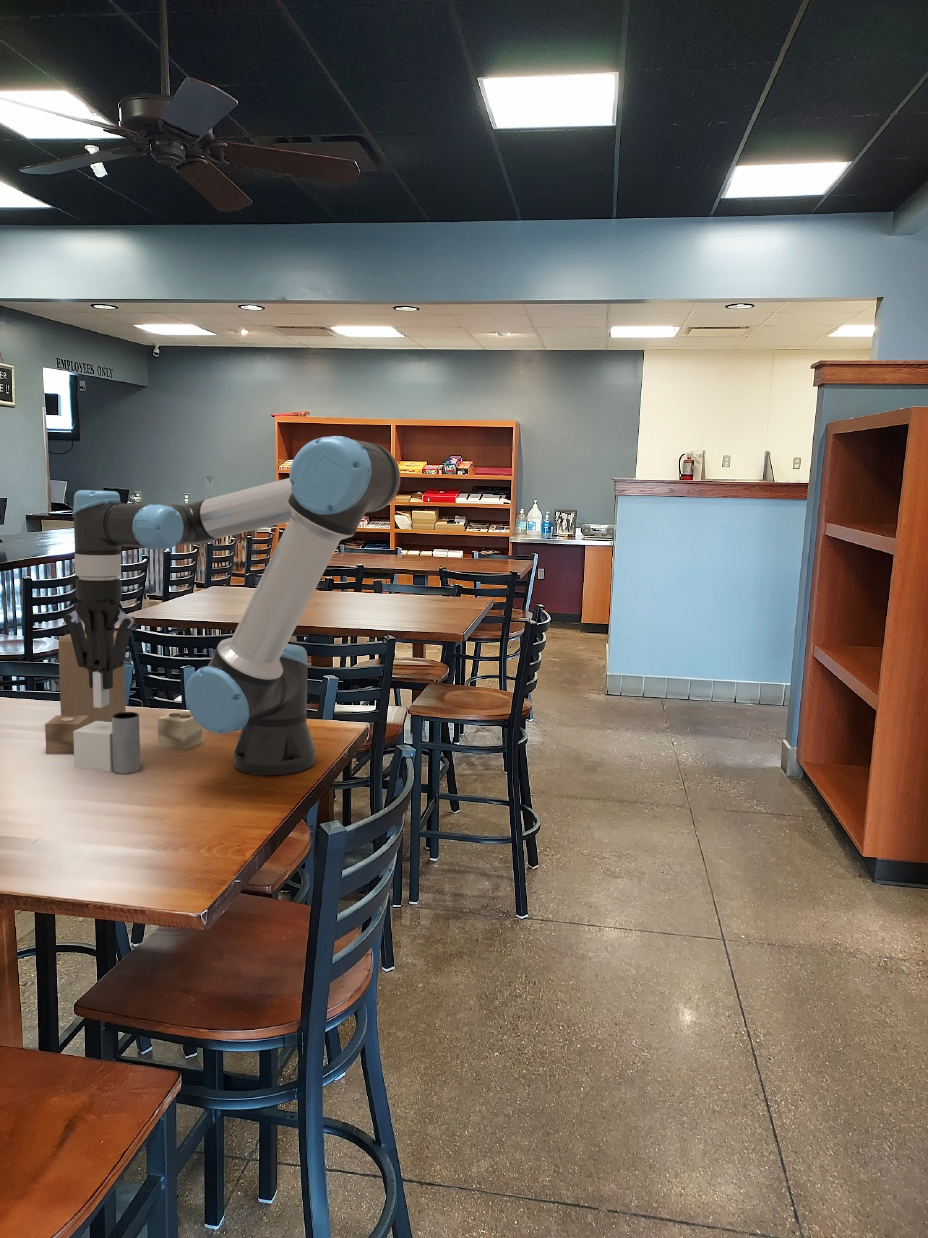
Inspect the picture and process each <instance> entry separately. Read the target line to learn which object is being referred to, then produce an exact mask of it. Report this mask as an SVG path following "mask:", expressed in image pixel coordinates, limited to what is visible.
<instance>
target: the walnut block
mask: <svg viewBox="0 0 928 1238" xmlns="http://www.w3.org/2000/svg"><path fill="white" fill-rule="evenodd" d="M88 724H89V716H74V715H61V714H60V715H59V714H58V715H55V716H54V717H52V718H51V719H50V720H48V721H47V722H45V723H44V730H45V731H44V732H45V733H44V735H45V737H44V738H45V755H74V734H73V731H75V730H77V729H79V728H82V727H84V726H86V725H88Z"/></svg>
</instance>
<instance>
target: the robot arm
mask: <svg viewBox="0 0 928 1238" xmlns="http://www.w3.org/2000/svg"><path fill="white" fill-rule="evenodd" d="M400 486H401V471H400V468H399V464H398V462H397V460H396V459H395V457H394V456H393V455H392V453H391V452H389V450H388V449H386V448H385V447H383V446H381V445H380V444H377V443H374V442H369V441H363V440H357V439H351V438H349V437H346V436H341V435H339V436H338V435H333V436H322V437H318V438H316V439H313V440H311V441H309V442H308V443H306V444H305V445H303V446H302V447H301V449H300V450H299V451H298V452H297V453H296V455H295V457H294V458H293V461H292V462H291V465H290V469H289V477H287V478H285V479H284V478H283V479H279V480H276V481H272V482H268V483H264V484H261V485H257V486H253V487H248V488H245V489H242V490H236V491H234V492H230V493H226V494H222V495H219V496H215V497H211V498H206V499H204V500H203V499H202V500H199V501H194V502H191V503H185V504H184V503H183V504H160V503H159V504H154V503H153V504H150V503H149V504H148V503H147V504H143V503H142V504H141V503H123V502H121V497H120V494H119V492H117V491H114V490H113V491H111V490H109V491H108V490H89V489H86V490H85V489H84V490H83V489H81V490H78V491H76V492H75V493H74V495H73V510H72V511H73V512H72V517H73V518H72V519H73V530H74V531H73V533H74V575H75V576H77V577H78V578H76V580H75V598H76V599H77V602H76V605H75V608H74V609H75V610H73V611H72V612H70V613H68V614H67V613H66V614H64V615H63V616H62V619H63V621H64V623H65V625H66V626H67V628H68V632H69V634H70V636H71V639H72V643H73V647H74V651H75V655H76V659H77V663H78V666H79V667H84V668H86V669H87V670H88V671H89V686H90V688H93V702H94V707H97V708H102V707H104V706H107V705H109V704H110V700H109V689H110V688H112V687H113V670H114V669H117V668H120V667H122V666H123V664H124V663H125V659H126V655H127V650H128V645H129V639H130V634H131V630H132V628H133V627H134V626H135V624H136V621H137V619H136V617H135V616H129V615H128V614H126V613H125V612H124V607H123V605H122V603H121V600H122V597H123V595H122V589H123V587H122V586H123V585H122V580H121V578H119V577H121V575H122V556H121V555H122V554H121V553H122V547H130V548H131V547H132V548H144V549H149V550H153V551H154V550H168V549H170V550H171V549H172V548H174V547H176V546H189V545H192V546H193V545H194V546H201V545H205V544H206V545H207V544H210V543H213V542H215V541H216V540H217V539H221V538H222V539H223V538H227V537H230V536H235V535H238V534H243V533H247V532H251V531H256V530H259V529H264V528H269V527H272V526H277V525H281V524H285V523H286V526H285V529H284V530H283V533H282V535H281V536H280V539H279V541H278V543H277V545H276V547H275V549H274V551H273V552H272V555H271V557H270V559H269V562H268V563H267V566H266V567H265V569H264V571H263V573H262V576H261V578H260V580H259V582H258V584H257V586H256V588H255V590H254V592H253V594H252V596H251V598H250V599H249V602H248V604H247V606H246V608H245V610H244V613H243V615H242V617H241V619H240V621H239V623H238V624H237V626H236V629H235V631H234V633H233V635H232V637H228V638H226V639H225V638H224V639H222V640H221V641H220V642H219V643H218V645H217V647H216V649H215V651H214V653H213V654H212V657H211V659H210V661H209V663H208V665H207V666H202V667H200V668H198V669H197V670H196V671H195V672H193V673H192V674H191V675H190V677H189V678H188V680H187V682H186V686H185V694H184V695H185V696H184V697H185V703H186V705H187V706H188V707H189V711H188V712H189V713H191V715H192V716H193V718H194V719H195V720H196V722H197V723H198V724H199V725H201V726H202V729H205V730H206V731H208V732H211V733H213V734H221V735H223V734H229V733H232V732H237V731H240V733H239V737H238V739H237V742H236V745H235V749H234V753H233V766H234V767H235V769H237V770H239V771H240V772H243V773H247V774H250V775H251V774H252V775H257V776H282V775H283V776H285V775H290V774H295V773H300V772H303V771H306V770H308V769H310V768H312V767H313V766H314V765H315V764H316V753H317V751H316V748H315V744H314V741H313V739H312V736H311V732H310V729H309V726H308V722H307V721H308V720H307V716H308V715H307V711H308V710H307V709H308V708H307V707H308V668H309V664H308V654H307V650H306V648H305V647H303V646H301V645H297V644H293V643H289V641H290V639H291V637H292V636H293V633H294V631H295V629H296V628H297V626H298V624H299V622H300V620H301V618H302V615H303V614H304V612H305V610H306V608H307V606H308V604H309V602H310V600H311V598H312V597H313V594H314V593H315V590H316V588H317V587H318V585H319V583H320V581H321V579H322V577H323V575H324V572H325V571H326V569H327V567H328V565H329V564H330V562H331V559H332V557H333V555H334V553H335V551H336V549H337V548H338V545H339V543H340V542H341V541H342V540H345V539H349V538H352V537H353V536H354V535H355V534H356V531H357V529H358V528H359V527H360V524H361V523H362V522H361V521H362V520H363V518H364V517H365V514H366V513H373V512H378V511H379V510H382V509H384V508H385V507H387V506H388V505H389V504H390V503H392V502H393V500H394V499H395V497H396V496H397V493H398V491H399V488H400ZM83 624H84V626H83ZM116 624H117V625H118V628H117V630H116V628H115V627H116ZM84 630H85V633H84ZM115 631H117V635H116V639H115V644H114V637H113V634H114V632H115ZM85 634H86V637H85ZM99 668H101V669H99Z"/></svg>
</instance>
